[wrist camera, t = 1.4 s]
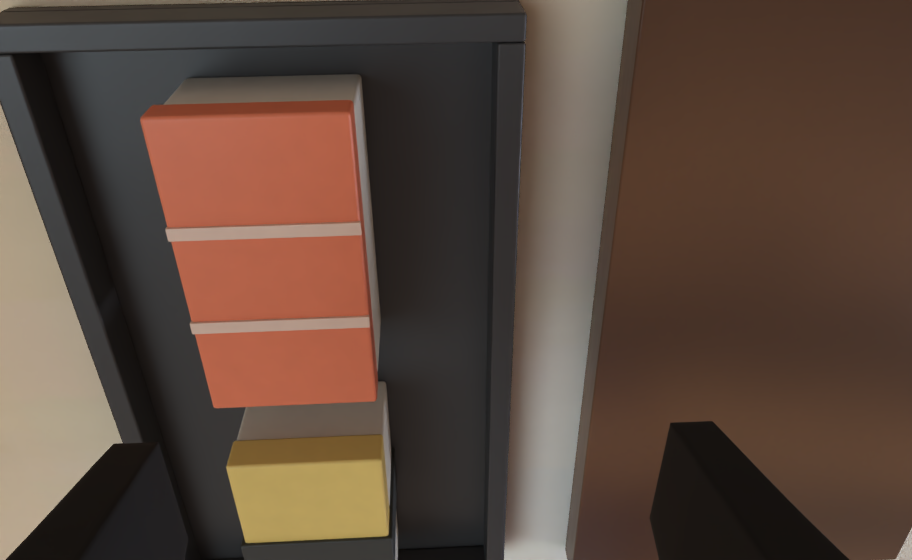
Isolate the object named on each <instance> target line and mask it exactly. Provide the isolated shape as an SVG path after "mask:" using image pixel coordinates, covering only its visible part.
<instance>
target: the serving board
mask: <svg viewBox="0 0 912 560" xmlns="http://www.w3.org/2000/svg"><path fill="white" fill-rule="evenodd" d="M700 421H713V422H714V423H715V424H716V425H717V426H718V427H719V428H720V429H721V430H722V431H723V432H724V433H725V434H726V435H727V436H728V438H729V439H730V440H731V441H732V442H733V443H734V444H735V445H736V446H737V447H738V448H739V449H740V450H741V451H742V452H743V453H744V454H745V455H746V456H747V457H748V458H749V459H750V460H751V462H752V463H753V464H754V465H755V466H756V467H757V468H758V469H759V470H760V471H761V472H762V473H763V474H764V475H765V476H766V477H767V478H768V479H769V480H770V481H771V482H772V483H773V484H774V485H775V486H776V487H777V488H778V489H779V491H780V492H781V493H782V494H783V495H784V496H785V497H786V498H787V499H788V500H789V501H790V502H791V503H792V504H793V505H794V506H795V507H796V508H797V509H798V510H799V511H800V512H801V513H802V514H803V515H804V516H805V517H806V518H807V519H808V520H809V521H810V522H811V523H812V524H813V525H814V526H815V527H816V528H817V529H818V530H820V531H821V532H822V533H823V534H824V535H825V536H826V537H827V538H828V539H829V540H830V541H831V542H832V543H833V544H834V545H835V546H836V547H837V548H838V549H839V550H840V551H841V552H842V553H843V554H844V555H845V556H846V557H847V558H848V559H849V560H889V559H896V557H897V555H898V553H899V551H900V549H901V548H902V546H903V544H904V542H905V540H906V538H907V536H908V534H909V532H910V530H911V528H912V0H628V5H627V13H626V22H625V31H624V40H623V48H622V57H621V66H620V75H619V83H618V92H617V101H616V110H615V118H614V127H613V136H612V145H611V153H610V162H609V171H608V180H607V188H606V197H605V206H604V215H603V224H602V232H601V241H600V250H599V259H598V267H597V276H596V285H595V294H594V302H593V311H592V320H591V329H590V337H589V346H588V355H587V364H586V372H585V381H584V390H583V399H582V407H581V416H580V425H579V434H578V442H577V451H576V460H575V469H574V478H573V486H572V495H571V504H570V513H569V521H568V530H567V539H566V548H565V550H566V555H567V559H568V560H659V557H658V553H657V549H656V544H655V540H654V535H653V531H652V527H651V522H650V513H651V509H652V504H653V499H654V495H655V490H656V486H657V481H658V477H659V472H660V468H661V463H662V459H663V454H664V449H665V445H666V440H667V436H668V431H669V427H670V423H674V422H700Z"/></svg>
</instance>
